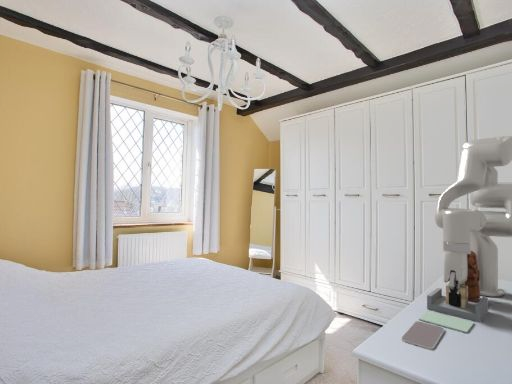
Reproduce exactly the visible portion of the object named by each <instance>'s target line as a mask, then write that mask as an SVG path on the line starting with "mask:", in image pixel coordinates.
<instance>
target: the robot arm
mask: <svg viewBox="0 0 512 384" xmlns="http://www.w3.org/2000/svg"><path fill="white" fill-rule="evenodd" d="M511 162H512V135H504V136H497V137H496V136H494V137H487V138H478V139H477V138H476V139H473V140H468V141H466V142H464V143H463V144H462V145H461V151H460V155H459V160H458V165H457V173H456V179H455V182H454V183H452V184H451V185H449V186H448V187H447V188H446V189H445V190H444V191H443V192H442V194H441V195H440V196H439V198H438V200H437V203H436V210H435V215H434V221H435V224H436V227H439V228H440V229H442V246H443V247H442V251H443V253H444V252H445V253H444V261H443V262H444V263H443V282H444V283H445V284H449V305H453V306H457V307H460V306H461V294H460V285H465V281H466V280H467V276H468V262H467V254H471V251H473V252H474V253H475V254H476V256H477V257H476V259H477V266H478V268H477V269H478V270H479V272H480V278H479V281H478V283H479V289H480V294H479V295H480V296H482V297H491V298H493V297H497V298H498V297H502V296H504V291H503V290H501V289H499V260H498V258H499V255H498V254H499V251H498V250H499V249H498V247H497V244H496V243H495V242H494V240H492V238H491V237H497V238H498V237H501V238H512V183H509V182H508V183H499V181H498V179H499V177H498V176H499V175H498V173H499V172H498V170H497V169H496V168H495V167H505V166H507V165H509V164H510V163H511ZM466 195H470V197H469V200H470V204H471V205H472V206H473V207H476V208H482V209H484V208H485V209H504V210H506V211H498V210H497V211H494V210H479V209H474V208H453V207H452V208H451V207H450V205H451V204H452V203H453V202H454V201H455V200H456V199H457V200H458V199H459V198H461V197H463V196H466ZM455 286H457V288H456V287H455Z"/></svg>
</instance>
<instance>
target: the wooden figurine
mask: <svg viewBox="0 0 512 384" xmlns="http://www.w3.org/2000/svg"><path fill="white" fill-rule="evenodd" d="M476 257H477V256H476V254H475V253H474V252H473V251H471V254H467V262H468V276H467V280H466V281H465V285H466V286H468V301H469V302H474V303H478V302H479V301H480V298H481V295H479V294H480V289H479V283H478V281H479V278H480V272H479V270H478V269H477V268H478V266H477V259H476Z"/></svg>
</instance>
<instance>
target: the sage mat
mask: <svg viewBox="0 0 512 384" xmlns="http://www.w3.org/2000/svg"><path fill="white" fill-rule="evenodd" d="M418 321H420V322H424V323H427V324H431V325H435V326H439V327H442V328H446V329H450V330H453V331H457V332H461V333H464V334H468V333H469V331H470V330H471V328H473V326H474V325H475V321H474V322H473V321H472V320H468V319H464V318H460V317H456V316H452V315H448V314H444V313H440V312H436V311H432V310H428V311H426V312H425V313H424V314H422V316H420V317H419V318H418Z"/></svg>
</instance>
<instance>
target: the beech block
mask: <svg viewBox="0 0 512 384" xmlns="http://www.w3.org/2000/svg"><path fill="white" fill-rule="evenodd" d="M455 287H456V288H457V286H455ZM460 294H461V306H460V307H461V308H465V307H466V306H467V305H468V286H466V285H460ZM445 295H446V304H448V305H449V283H447V284H446V285H445ZM452 306H453V305H452Z"/></svg>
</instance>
